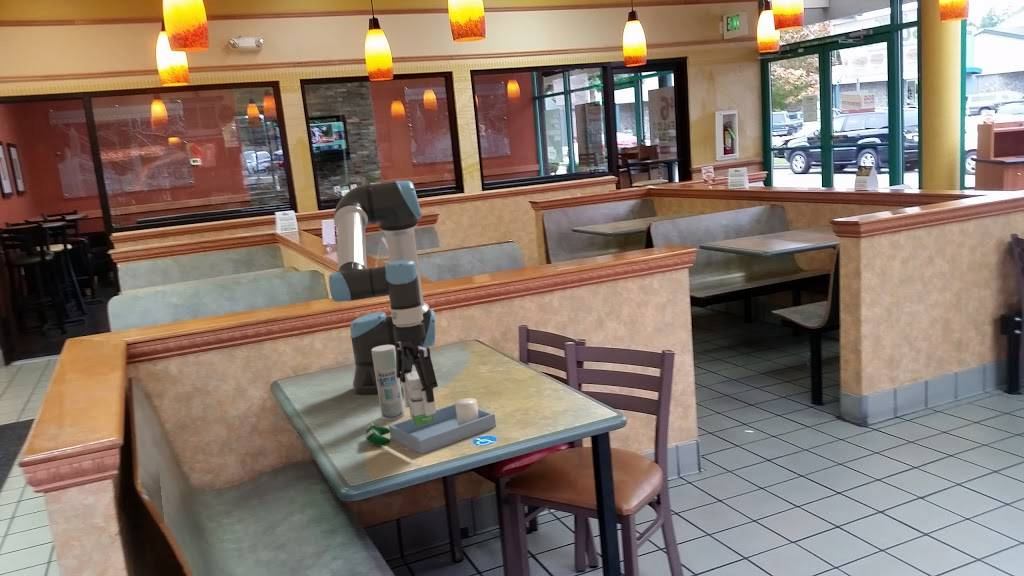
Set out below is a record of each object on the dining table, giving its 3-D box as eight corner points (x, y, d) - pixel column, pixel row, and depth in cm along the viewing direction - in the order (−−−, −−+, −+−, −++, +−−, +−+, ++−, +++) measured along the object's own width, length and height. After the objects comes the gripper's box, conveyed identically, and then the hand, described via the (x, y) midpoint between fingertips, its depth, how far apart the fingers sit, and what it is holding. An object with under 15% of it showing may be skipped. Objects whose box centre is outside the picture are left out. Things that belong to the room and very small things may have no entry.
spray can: (404, 411, 217) (394, 343, 213) (405, 418, 210) (395, 348, 207) (381, 414, 216) (371, 346, 212) (381, 422, 209) (371, 352, 206)
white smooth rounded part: (454, 428, 196) (450, 402, 195) (471, 422, 200) (467, 396, 198) (467, 433, 192) (463, 406, 191) (484, 426, 195) (481, 400, 194)
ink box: (435, 422, 188) (428, 377, 186) (415, 427, 187) (408, 381, 185) (428, 412, 196) (422, 368, 194) (409, 416, 195) (403, 372, 193)
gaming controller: (383, 441, 201) (364, 429, 199) (391, 430, 200) (373, 417, 199) (382, 454, 192) (363, 441, 190) (391, 442, 191) (372, 429, 190)
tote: (391, 440, 195) (388, 425, 194) (462, 415, 207) (461, 401, 207) (421, 456, 182) (419, 441, 181) (496, 429, 195) (494, 414, 194)
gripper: (374, 321, 194) (387, 405, 198) (416, 332, 176) (429, 424, 180) (400, 315, 198) (412, 397, 202) (444, 325, 180) (456, 414, 184)
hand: (420, 409), depth 191 cm, fingers closed on ink box, 9 cm apart
